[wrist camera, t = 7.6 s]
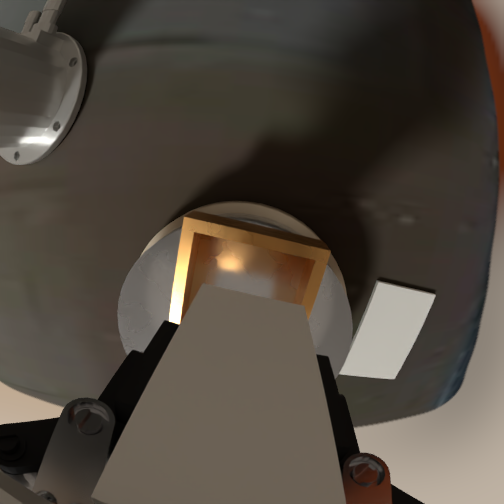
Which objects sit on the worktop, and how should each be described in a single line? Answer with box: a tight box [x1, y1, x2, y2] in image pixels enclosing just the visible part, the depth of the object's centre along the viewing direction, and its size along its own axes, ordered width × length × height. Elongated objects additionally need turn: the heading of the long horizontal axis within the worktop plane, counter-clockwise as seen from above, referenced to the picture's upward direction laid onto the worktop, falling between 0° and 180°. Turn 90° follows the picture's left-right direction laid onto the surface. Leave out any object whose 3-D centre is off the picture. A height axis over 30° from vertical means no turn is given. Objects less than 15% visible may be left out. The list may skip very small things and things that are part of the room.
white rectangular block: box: [91, 283, 346, 504], centre depth 8 cm, size 4×4×9 cm
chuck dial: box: [118, 211, 353, 378], centre depth 18 cm, size 15×15×5 cm
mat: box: [339, 280, 436, 379], centre depth 23 cm, size 9×6×1 cm, turn 167°
